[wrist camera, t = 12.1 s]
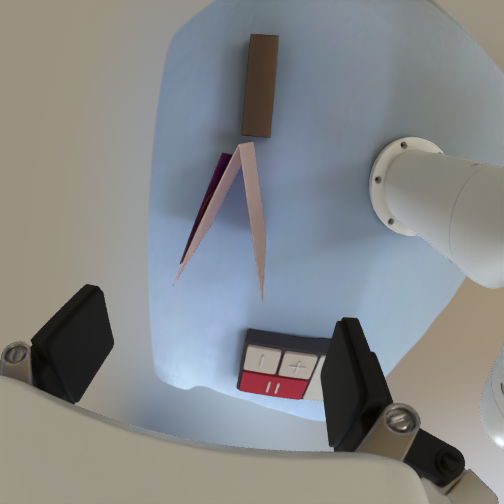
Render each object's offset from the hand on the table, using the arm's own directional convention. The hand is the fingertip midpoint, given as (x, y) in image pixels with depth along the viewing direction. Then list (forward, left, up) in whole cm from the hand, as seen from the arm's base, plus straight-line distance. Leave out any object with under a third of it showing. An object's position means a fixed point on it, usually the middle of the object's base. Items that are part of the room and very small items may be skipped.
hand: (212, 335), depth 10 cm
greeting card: (0, 0, -25) cm, 25 cm away
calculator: (-8, +25, -25) cm, 36 cm away
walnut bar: (0, -13, -25) cm, 28 cm away
